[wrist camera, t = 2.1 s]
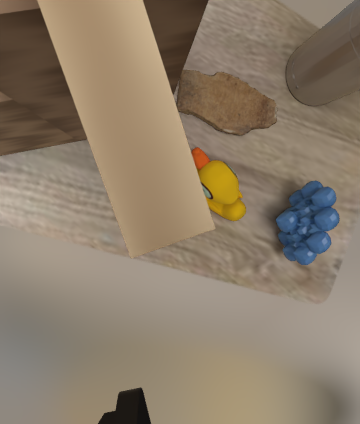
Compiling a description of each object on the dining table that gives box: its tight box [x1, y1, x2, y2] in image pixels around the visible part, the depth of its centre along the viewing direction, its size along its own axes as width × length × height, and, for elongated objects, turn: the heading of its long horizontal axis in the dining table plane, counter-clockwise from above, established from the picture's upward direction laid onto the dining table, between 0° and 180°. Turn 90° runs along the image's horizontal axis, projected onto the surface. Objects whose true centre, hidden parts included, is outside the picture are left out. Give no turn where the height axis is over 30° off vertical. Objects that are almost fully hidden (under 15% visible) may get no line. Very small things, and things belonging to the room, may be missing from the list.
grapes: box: [276, 181, 340, 265], centre depth 42 cm, size 12×7×12 cm, turn 172°
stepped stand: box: [0, 0, 208, 156], centre depth 26 cm, size 24×11×32 cm, turn 101°
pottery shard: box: [176, 70, 278, 135], centre depth 45 cm, size 8×16×2 cm, turn 66°
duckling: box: [191, 147, 246, 221], centre depth 41 cm, size 11×5×10 cm, turn 39°
